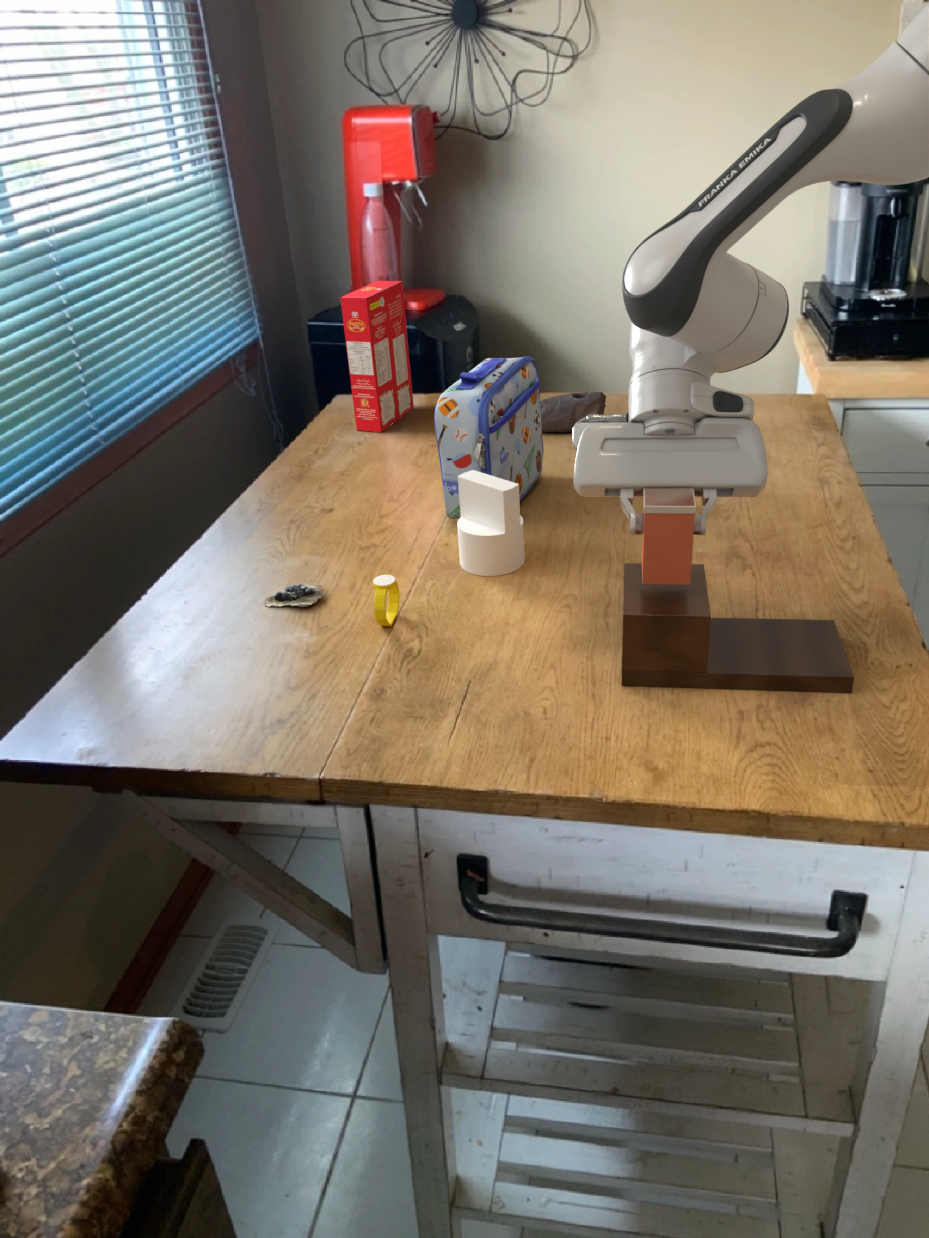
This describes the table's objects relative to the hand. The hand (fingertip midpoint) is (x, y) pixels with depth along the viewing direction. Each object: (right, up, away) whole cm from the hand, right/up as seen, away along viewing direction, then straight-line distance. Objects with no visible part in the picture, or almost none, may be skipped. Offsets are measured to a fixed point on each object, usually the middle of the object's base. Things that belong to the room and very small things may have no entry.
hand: (667, 533), depth 102 cm
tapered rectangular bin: (0, -4, +3) cm, 5 cm away
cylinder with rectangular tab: (-18, -1, +33) cm, 37 cm away
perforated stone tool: (-3, +26, +78) cm, 82 cm away
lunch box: (-16, +9, +51) cm, 54 cm away
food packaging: (-37, +30, +90) cm, 102 cm away
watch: (-31, -9, +20) cm, 38 cm away
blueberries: (-44, -7, +26) cm, 52 cm away
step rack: (+8, -14, +7) cm, 18 cm away
